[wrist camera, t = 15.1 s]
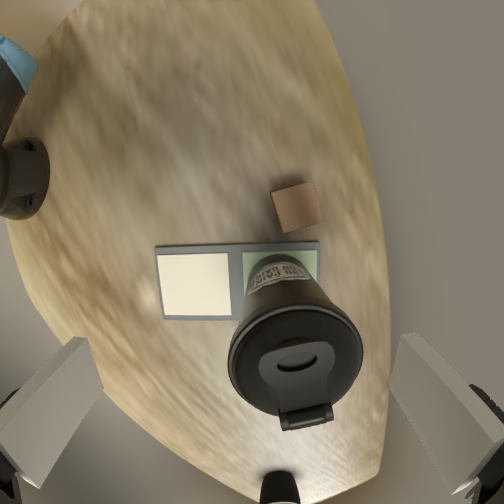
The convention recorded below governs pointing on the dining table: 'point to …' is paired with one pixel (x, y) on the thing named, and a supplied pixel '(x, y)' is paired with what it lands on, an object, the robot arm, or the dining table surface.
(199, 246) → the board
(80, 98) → the dining table surface
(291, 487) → the mug
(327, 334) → the black travel mug
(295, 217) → the walnut block
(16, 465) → the robot arm
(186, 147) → the dining table surface
